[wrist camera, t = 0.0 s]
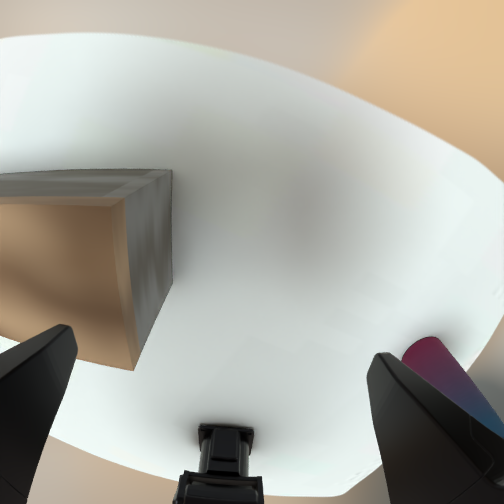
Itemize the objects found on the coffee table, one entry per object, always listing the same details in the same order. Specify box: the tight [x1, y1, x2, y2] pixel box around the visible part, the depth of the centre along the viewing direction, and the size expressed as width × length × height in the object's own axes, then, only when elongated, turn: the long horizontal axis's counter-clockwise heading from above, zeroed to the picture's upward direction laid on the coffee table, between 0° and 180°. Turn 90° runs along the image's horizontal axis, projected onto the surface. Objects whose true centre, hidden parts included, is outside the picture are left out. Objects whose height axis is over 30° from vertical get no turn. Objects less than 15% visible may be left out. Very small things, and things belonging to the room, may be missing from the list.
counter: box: [0, 169, 172, 371], centre depth 17 cm, size 9×18×10 cm, turn 85°
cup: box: [402, 337, 504, 438], centre depth 21 cm, size 7×7×15 cm
